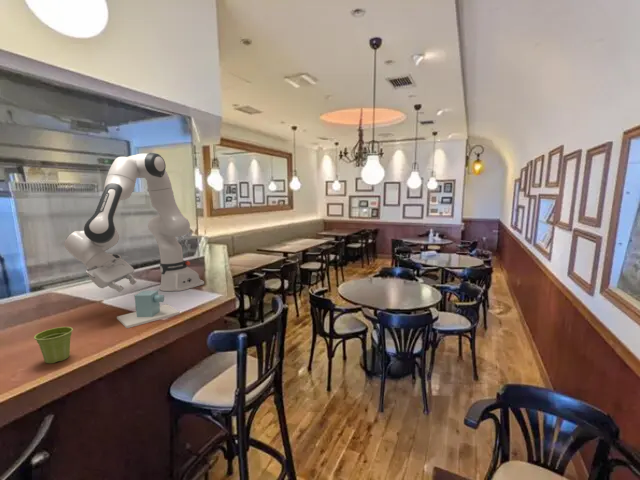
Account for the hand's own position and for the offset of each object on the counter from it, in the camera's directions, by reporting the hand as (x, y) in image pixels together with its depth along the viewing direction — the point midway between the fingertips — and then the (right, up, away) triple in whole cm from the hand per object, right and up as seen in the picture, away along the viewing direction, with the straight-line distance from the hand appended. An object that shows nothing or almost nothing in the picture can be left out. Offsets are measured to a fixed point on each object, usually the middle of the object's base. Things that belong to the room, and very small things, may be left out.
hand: (128, 286), depth 137 cm
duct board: (+7, -13, +2) cm, 15 cm away
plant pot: (-3, -18, -32) cm, 37 cm away
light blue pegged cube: (+9, -12, +2) cm, 15 cm away
